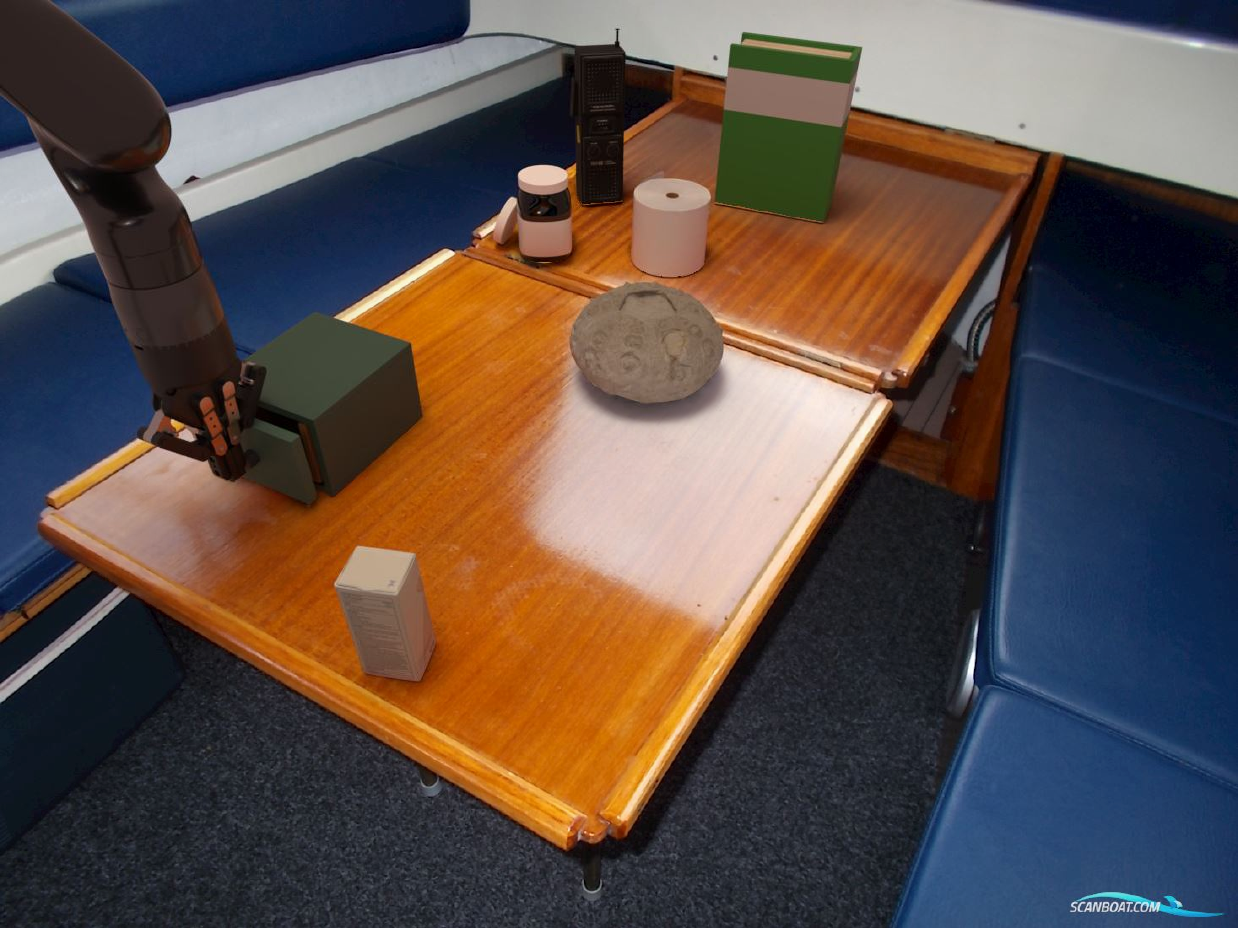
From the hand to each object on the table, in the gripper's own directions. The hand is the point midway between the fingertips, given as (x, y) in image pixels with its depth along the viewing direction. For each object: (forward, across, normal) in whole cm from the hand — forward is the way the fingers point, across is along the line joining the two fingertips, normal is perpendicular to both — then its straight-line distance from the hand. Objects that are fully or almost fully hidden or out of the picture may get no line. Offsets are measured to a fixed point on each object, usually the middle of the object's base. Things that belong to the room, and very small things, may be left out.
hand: (232, 475), depth 81 cm
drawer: (+4, -9, 0) cm, 10 cm away
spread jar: (+5, -60, -3) cm, 60 cm away
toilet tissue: (+5, -67, +15) cm, 69 cm away
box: (+5, +7, +24) cm, 25 cm away
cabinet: (+5, -13, 0) cm, 14 cm away
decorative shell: (+5, -39, +25) cm, 46 cm away
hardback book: (+5, -92, +23) cm, 95 cm away
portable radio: (+5, -80, -3) cm, 80 cm away
